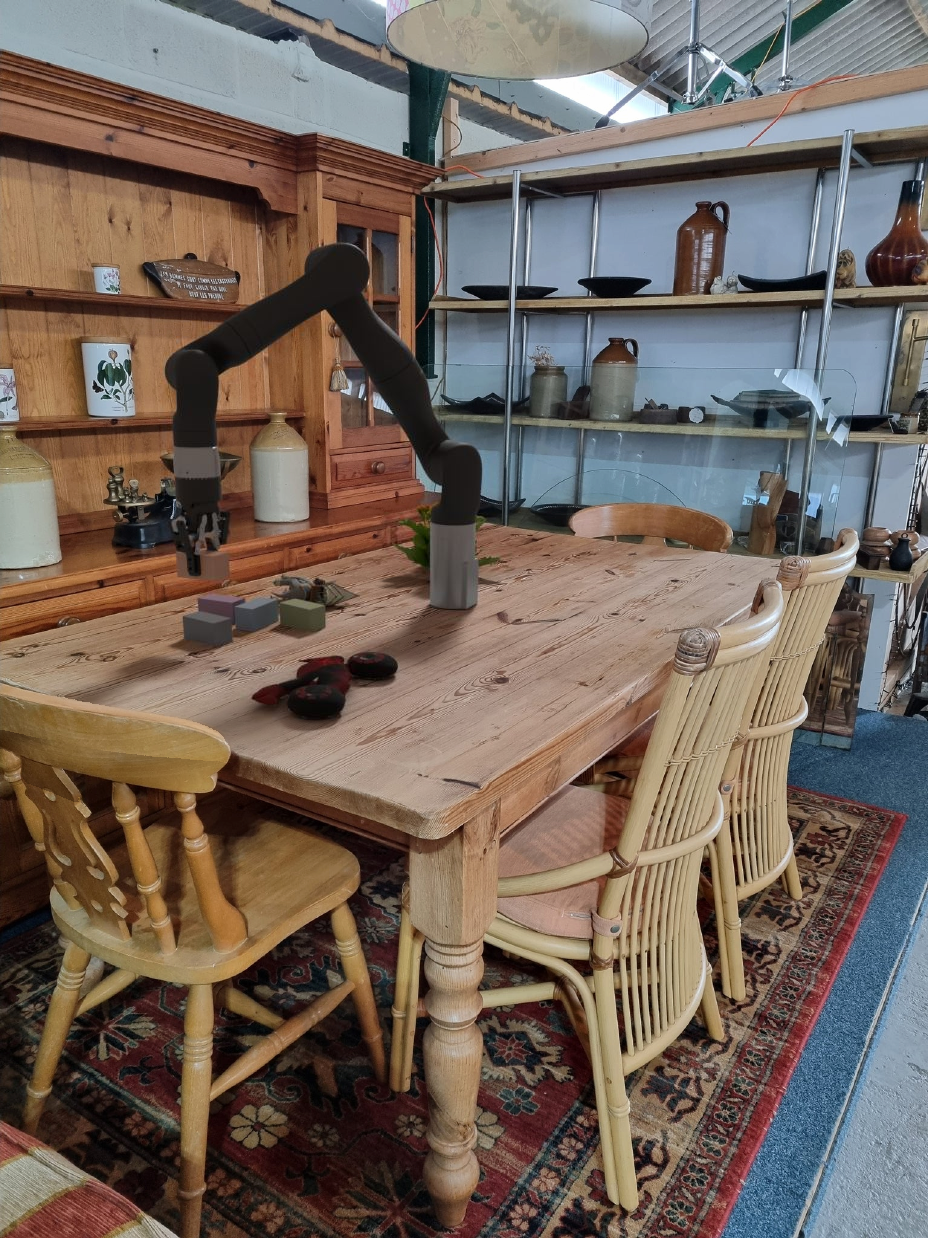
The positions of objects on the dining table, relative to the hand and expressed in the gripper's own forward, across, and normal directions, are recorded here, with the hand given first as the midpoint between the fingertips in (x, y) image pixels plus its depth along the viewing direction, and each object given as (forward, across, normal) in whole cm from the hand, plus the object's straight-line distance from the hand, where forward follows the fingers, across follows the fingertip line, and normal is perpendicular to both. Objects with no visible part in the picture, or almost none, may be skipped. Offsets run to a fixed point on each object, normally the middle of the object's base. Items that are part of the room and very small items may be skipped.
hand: (203, 572), depth 151 cm
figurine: (+13, +30, -4) cm, 33 cm away
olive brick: (+12, +15, -10) cm, 22 cm away
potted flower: (+12, +67, -18) cm, 70 cm away
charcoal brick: (+12, 0, 0) cm, 12 cm away
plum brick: (+12, +12, +6) cm, 18 cm away
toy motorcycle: (+13, -13, -31) cm, 36 cm away
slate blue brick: (+12, +12, -2) cm, 17 cm away
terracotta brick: (+1, 0, 0) cm, 1 cm away
